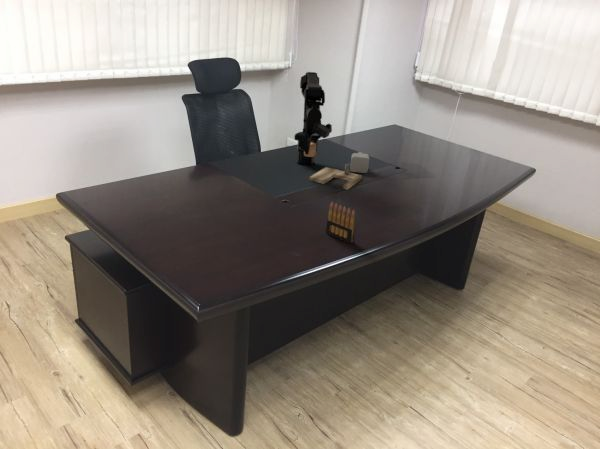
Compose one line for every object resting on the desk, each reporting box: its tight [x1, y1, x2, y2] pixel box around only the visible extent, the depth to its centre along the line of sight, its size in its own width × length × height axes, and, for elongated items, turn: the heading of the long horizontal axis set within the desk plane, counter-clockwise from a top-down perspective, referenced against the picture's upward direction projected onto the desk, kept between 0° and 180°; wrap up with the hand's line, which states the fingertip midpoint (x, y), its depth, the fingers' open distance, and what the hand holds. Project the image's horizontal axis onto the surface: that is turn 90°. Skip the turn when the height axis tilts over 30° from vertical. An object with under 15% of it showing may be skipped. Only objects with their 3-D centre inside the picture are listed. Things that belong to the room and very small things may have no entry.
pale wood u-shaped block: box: [309, 163, 363, 191], centre depth 218 cm, size 18×16×6 cm
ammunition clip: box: [325, 201, 356, 244], centre depth 167 cm, size 11×2×12 cm, turn 50°
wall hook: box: [349, 151, 370, 174], centre depth 231 cm, size 8×10×10 cm
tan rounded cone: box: [304, 142, 317, 158], centre depth 215 cm, size 5×5×5 cm
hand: (309, 152), depth 216 cm, fingers closed on tan rounded cone, 5 cm apart
